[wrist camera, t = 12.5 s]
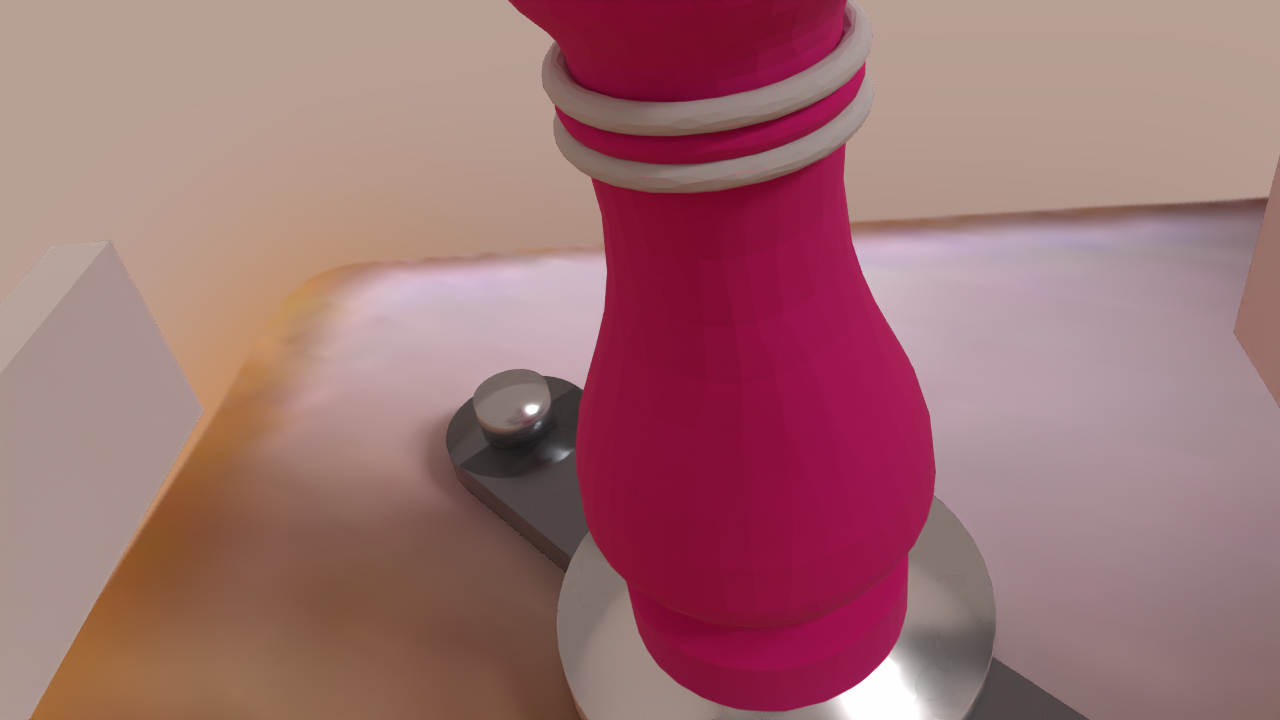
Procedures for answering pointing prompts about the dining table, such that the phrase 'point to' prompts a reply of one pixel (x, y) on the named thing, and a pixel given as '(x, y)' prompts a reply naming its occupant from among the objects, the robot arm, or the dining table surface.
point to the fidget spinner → (603, 616)
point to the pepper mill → (739, 344)
